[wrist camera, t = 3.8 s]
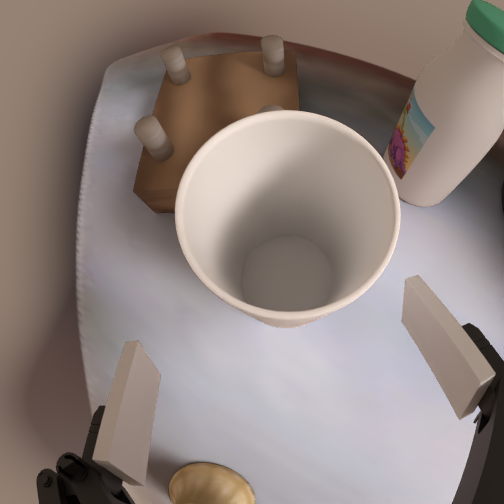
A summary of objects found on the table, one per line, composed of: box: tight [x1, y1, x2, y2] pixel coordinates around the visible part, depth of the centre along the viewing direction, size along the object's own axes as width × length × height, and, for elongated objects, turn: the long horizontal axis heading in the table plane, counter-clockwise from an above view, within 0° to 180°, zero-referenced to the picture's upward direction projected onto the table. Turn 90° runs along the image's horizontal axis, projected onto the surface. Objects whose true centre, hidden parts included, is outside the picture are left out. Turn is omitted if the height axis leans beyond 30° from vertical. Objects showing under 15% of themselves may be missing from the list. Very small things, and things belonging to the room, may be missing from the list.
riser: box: [133, 35, 300, 213], centre depth 26 cm, size 14×17×9 cm
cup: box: [175, 110, 400, 328], centre depth 18 cm, size 8×8×16 cm
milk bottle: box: [383, 0, 504, 207], centre depth 17 cm, size 8×8×20 cm
